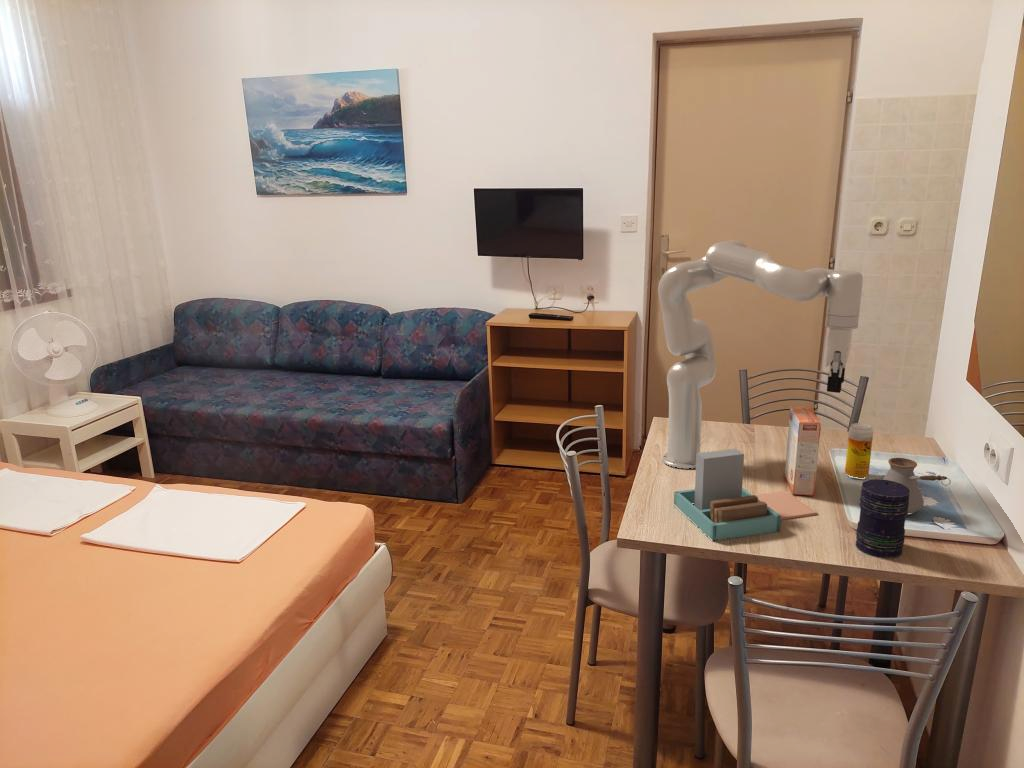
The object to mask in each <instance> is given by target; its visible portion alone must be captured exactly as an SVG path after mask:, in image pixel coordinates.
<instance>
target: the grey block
mask: <svg viewBox="0 0 1024 768" xmlns="http://www.w3.org/2000/svg"><path fill="white" fill-rule="evenodd" d="M744 459H745V453H743V452H741V450H739V449H737V448H729V449H722V450H713V451H706V452H700V453H696V468H695V478H694V479H695V481H694V489H695V501H694V506H695V507H696V508H698V509H699V510H706V509H710V503H711V501H715V500H723V499H730V498H737V497H742V488H743V480H744V479H743V478H744V465H745V464H744V463H745V460H744Z"/></svg>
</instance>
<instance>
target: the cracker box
mask: <svg viewBox="0 0 1024 768" xmlns="http://www.w3.org/2000/svg"><path fill="white" fill-rule="evenodd" d="M821 430H822V422H821V421H820V419H819V418H818V417H817V414H816V413H815V412H814V411H813V409H812V408H811V407H808V406H803V407H802V406H800V407H799V406H791V407H789V419H788V431H787V433H788V434H787V444H786V453H785V454H786V455H785V464H784V465H785V466H784V467H785V469H784V477H785V479H786V483H787V485H788V486H789V489H790V492H791V493H792V494H791V495H792V496H796V495H797V496H809V497H810V496H811V497H812V496H813V497H814V495H815V489H816V479H817V468H818V461H819V460H818V459H819V458H818V457H819V448H820V437H821Z"/></svg>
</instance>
